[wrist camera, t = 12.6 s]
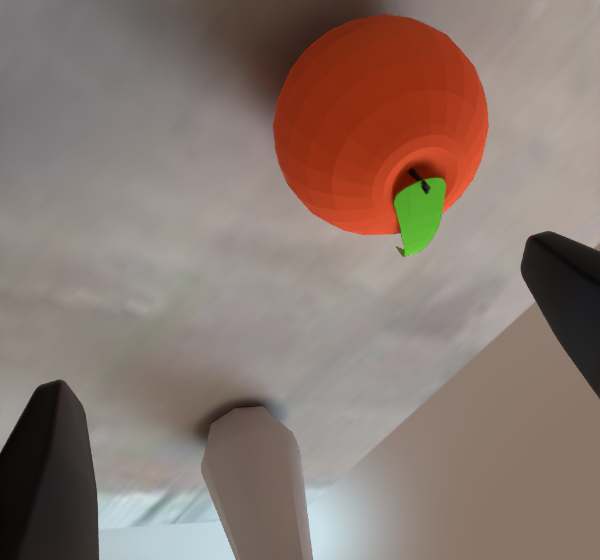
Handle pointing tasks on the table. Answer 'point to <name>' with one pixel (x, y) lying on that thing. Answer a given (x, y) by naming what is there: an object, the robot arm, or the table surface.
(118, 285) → the table surface
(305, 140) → the clementine
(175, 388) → the table surface
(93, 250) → the table surface
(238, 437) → the salt shaker
